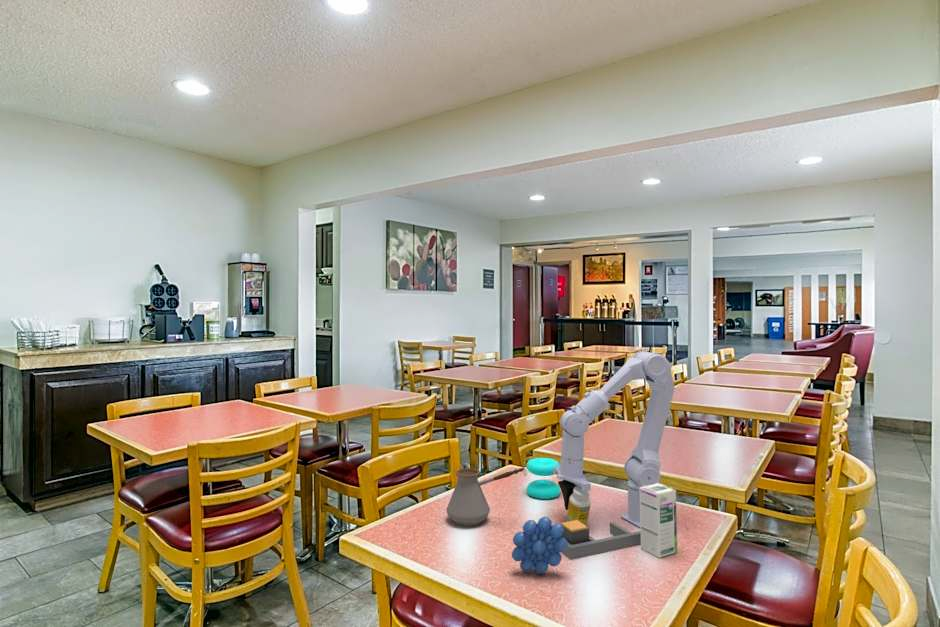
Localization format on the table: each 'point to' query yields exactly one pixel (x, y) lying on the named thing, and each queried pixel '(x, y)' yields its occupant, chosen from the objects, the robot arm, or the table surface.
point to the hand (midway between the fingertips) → (569, 509)
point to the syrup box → (658, 519)
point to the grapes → (539, 545)
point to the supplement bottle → (579, 506)
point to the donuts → (542, 487)
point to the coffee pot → (471, 497)
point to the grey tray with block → (586, 545)
